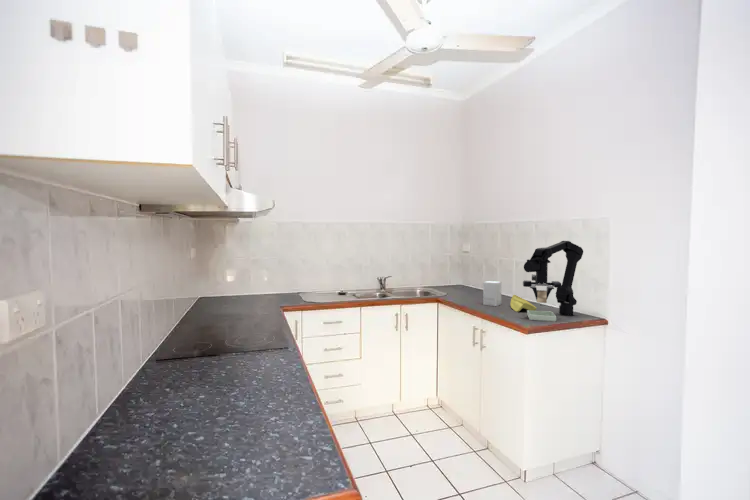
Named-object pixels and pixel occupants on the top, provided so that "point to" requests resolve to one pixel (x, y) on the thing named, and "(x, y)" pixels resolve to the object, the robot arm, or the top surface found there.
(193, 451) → the top surface
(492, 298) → the supplement box
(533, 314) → the tray
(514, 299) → the plastic component
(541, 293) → the beech block
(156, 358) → the top surface
